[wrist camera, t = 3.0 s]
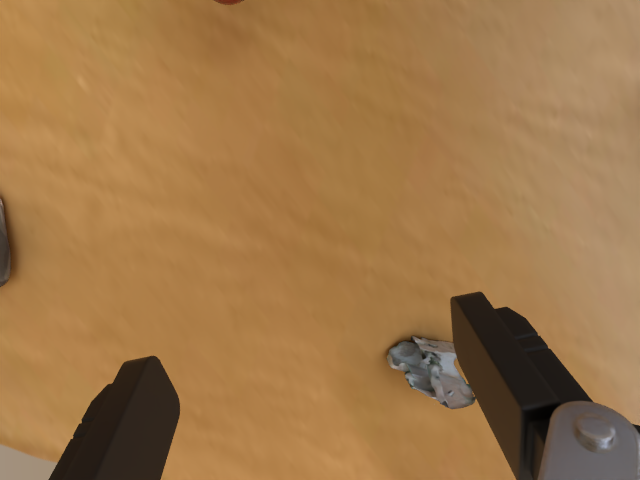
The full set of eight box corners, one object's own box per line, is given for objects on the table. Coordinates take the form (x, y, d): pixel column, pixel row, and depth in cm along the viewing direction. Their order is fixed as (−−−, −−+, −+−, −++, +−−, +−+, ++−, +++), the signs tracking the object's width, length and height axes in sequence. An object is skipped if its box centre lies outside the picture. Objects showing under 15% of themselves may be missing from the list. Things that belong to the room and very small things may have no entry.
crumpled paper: (461, 380, 39) (495, 433, 32) (383, 360, 38) (401, 410, 31) (479, 341, 38) (518, 388, 31) (399, 319, 37) (422, 362, 30)
